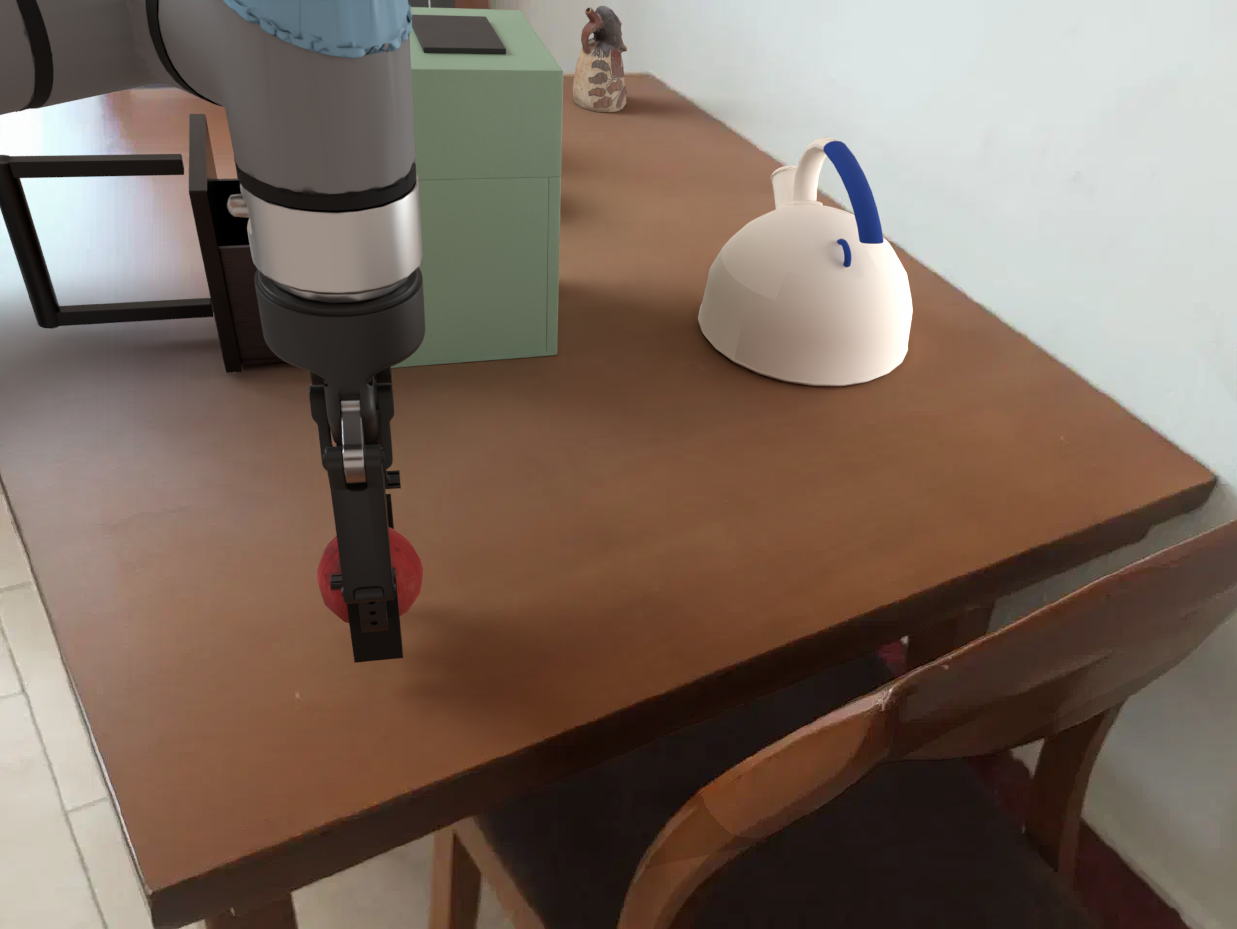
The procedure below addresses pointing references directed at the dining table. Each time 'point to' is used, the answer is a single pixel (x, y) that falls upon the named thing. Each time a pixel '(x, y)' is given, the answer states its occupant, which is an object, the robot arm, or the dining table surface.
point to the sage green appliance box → (486, 184)
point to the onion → (402, 560)
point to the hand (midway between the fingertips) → (377, 615)
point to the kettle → (811, 283)
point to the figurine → (601, 63)
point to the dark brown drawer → (216, 235)
